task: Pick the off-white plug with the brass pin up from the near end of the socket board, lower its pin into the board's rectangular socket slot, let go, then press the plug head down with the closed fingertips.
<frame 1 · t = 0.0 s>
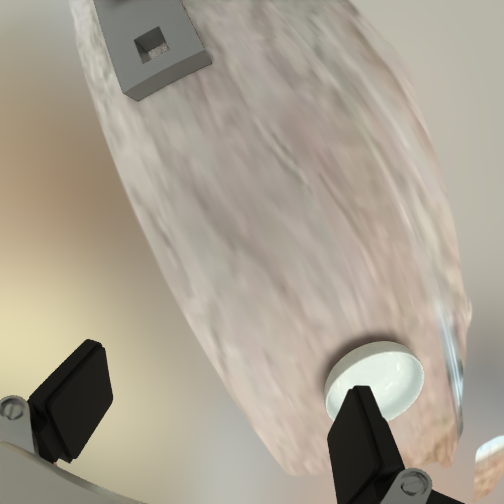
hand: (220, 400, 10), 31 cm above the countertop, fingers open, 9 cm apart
socket board: (150, 27, 33), on the countertop
cereal bowl: (366, 369, 45), on the countertop
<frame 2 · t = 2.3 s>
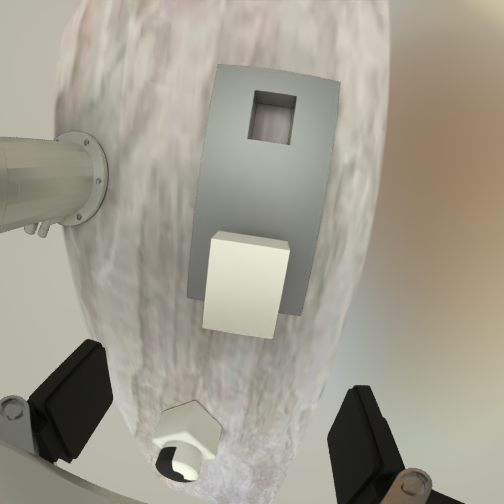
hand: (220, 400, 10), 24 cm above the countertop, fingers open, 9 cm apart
socket board: (262, 187, 31), on the countertop
plug: (250, 261, 28), point 5 cm above the countertop, touching socket board
medicine bottle: (192, 418, 41), on the countertop
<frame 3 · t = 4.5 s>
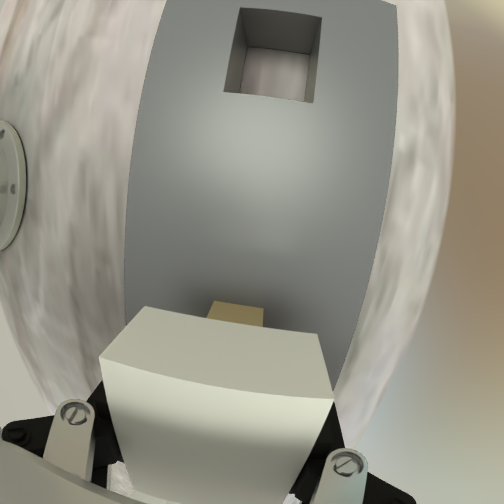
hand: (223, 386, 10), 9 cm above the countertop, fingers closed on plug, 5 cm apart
socket board: (258, 190, 17), on the countertop
plug: (234, 336, 14), point 5 cm above the countertop, touching gripper, socket board
medicine bottle: (173, 487, 27), on the countertop
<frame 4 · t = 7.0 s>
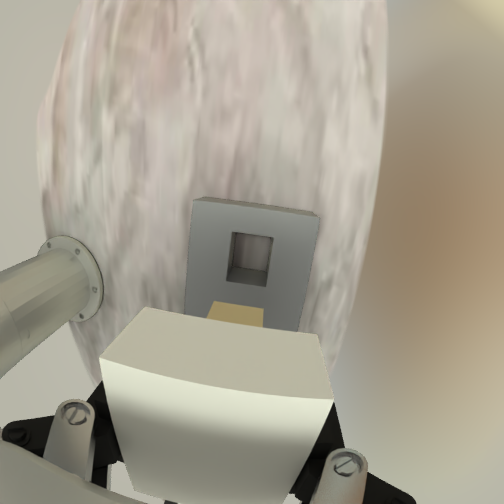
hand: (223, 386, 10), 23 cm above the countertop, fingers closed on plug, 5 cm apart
socket board: (244, 304, 35), on the countertop
plug: (234, 336, 14), point 19 cm above the countertop, touching gripper
when the fingers open (6 cm above the countertop, at t = 9.8 s): plug drops 2 cm, resting on socket board.
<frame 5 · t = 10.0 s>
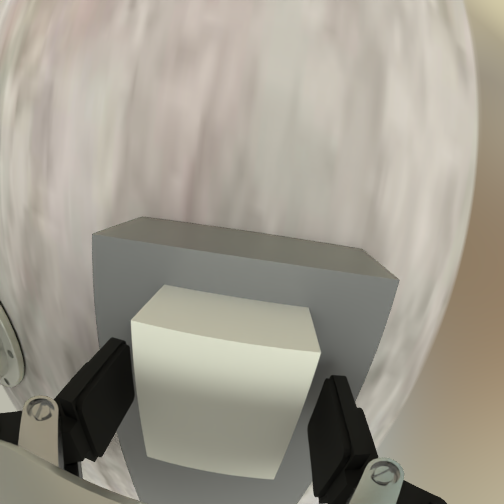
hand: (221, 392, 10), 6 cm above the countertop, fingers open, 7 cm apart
socket board: (226, 405, 18), on the countertop
plug: (237, 318, 16), resting on socket board
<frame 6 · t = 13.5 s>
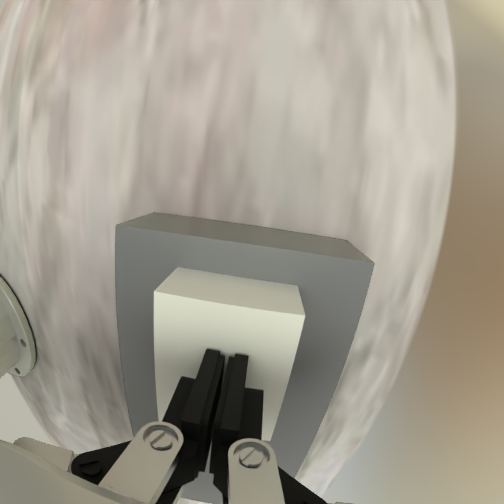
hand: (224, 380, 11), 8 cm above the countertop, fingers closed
socket board: (227, 384, 20), on the countertop
plug: (238, 302, 19), resting on socket board, touching gripper
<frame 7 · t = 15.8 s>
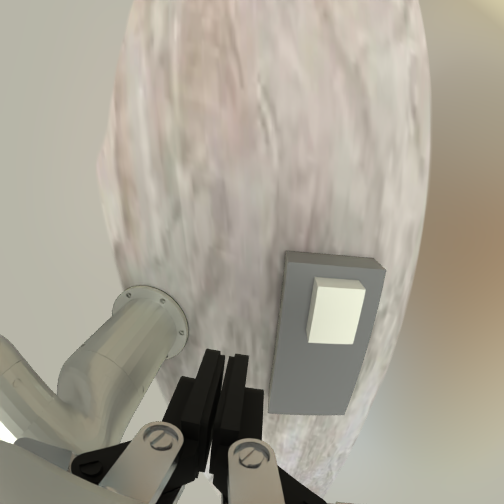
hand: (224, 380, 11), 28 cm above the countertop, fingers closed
socket board: (318, 334, 40), on the countertop
plug: (325, 290, 38), resting on socket board
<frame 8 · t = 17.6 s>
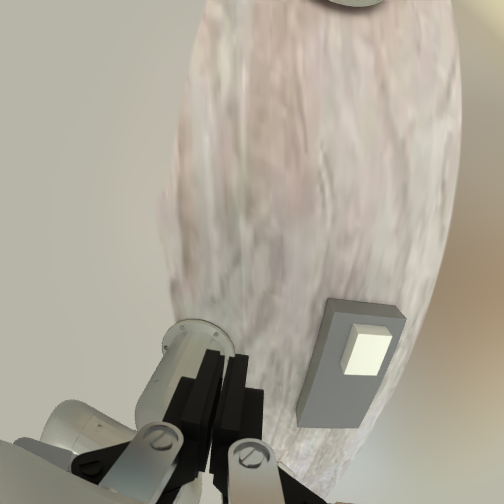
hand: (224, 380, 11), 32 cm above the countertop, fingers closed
socket board: (343, 363, 46), on the countertop
plug: (354, 329, 45), resting on socket board
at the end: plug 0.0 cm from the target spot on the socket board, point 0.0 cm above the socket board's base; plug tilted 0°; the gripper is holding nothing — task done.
